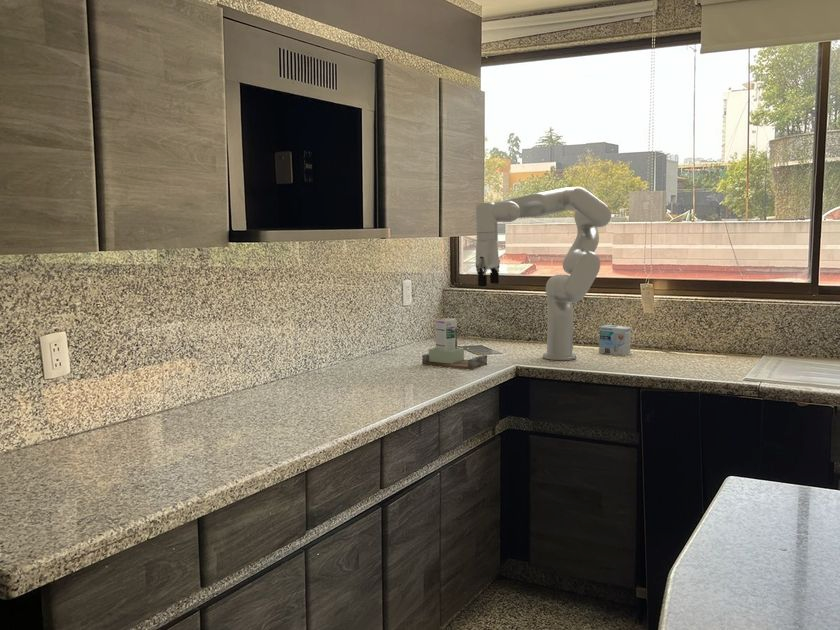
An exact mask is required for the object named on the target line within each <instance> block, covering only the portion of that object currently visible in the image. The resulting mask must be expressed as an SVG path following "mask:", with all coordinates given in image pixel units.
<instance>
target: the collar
mask: <svg viewBox="0 0 840 630" xmlns="http://www.w3.org/2000/svg"><path fill="white" fill-rule="evenodd" d="M428 353H429V361H430V362H439V363H449V364H453V363H456V362H459V361H462V360H465V358H464V357H465V348H464V347H458V346H457V349H456V350H452V351H446V350H436V346H435V347H433V348H429V349H428Z"/></svg>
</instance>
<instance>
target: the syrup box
mask: <svg viewBox="0 0 840 630" xmlns="http://www.w3.org/2000/svg"><path fill="white" fill-rule="evenodd" d="M434 322H435V323H434V324H435V326H434V327H435V331H434V333H435V334H434V335H435V339H434V340H435V341H434V342H435V347H436V350H446V351H452V350H456V349H457V347H458V319H457V318H452V317H444V318H436V319H435V321H434Z"/></svg>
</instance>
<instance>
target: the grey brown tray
mask: <svg viewBox="0 0 840 630" xmlns="http://www.w3.org/2000/svg"><path fill="white" fill-rule="evenodd" d="M421 356H422V357H421V358H422V359H421V361H422V362H421V364H423V365H422V366H430V365H432V366H431V367H439V366H441V367H442V368H448V367H451V369H457V368H459V370H460V369H461V370H466V369H469V371H474V370H475V369H479V368H481V366H482V367H484V365H485V366H487V365H488V355H487V354H481V355H479V356H475V357H472V358H469V359H464V360H462V361H459V362H456V363H453V364H449V363H439V362H430V361H429V352H428V353H426V354H422V355H421ZM441 367H440V368H441ZM478 367H479V368H478ZM473 369H474V370H473Z"/></svg>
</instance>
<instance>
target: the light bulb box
mask: <svg viewBox="0 0 840 630" xmlns="http://www.w3.org/2000/svg"><path fill="white" fill-rule="evenodd" d="M631 338H632V327H631V326H624V325H611V324H610V325H609V324H604V325H601V326H599V340H598V341H599V344H598V354H603V353H607V354H606V355H612V354H617V355H616V356H620V355H625V356H627V354H628V355H630V354H631V341H632V340H631ZM629 353H630V354H629Z"/></svg>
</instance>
